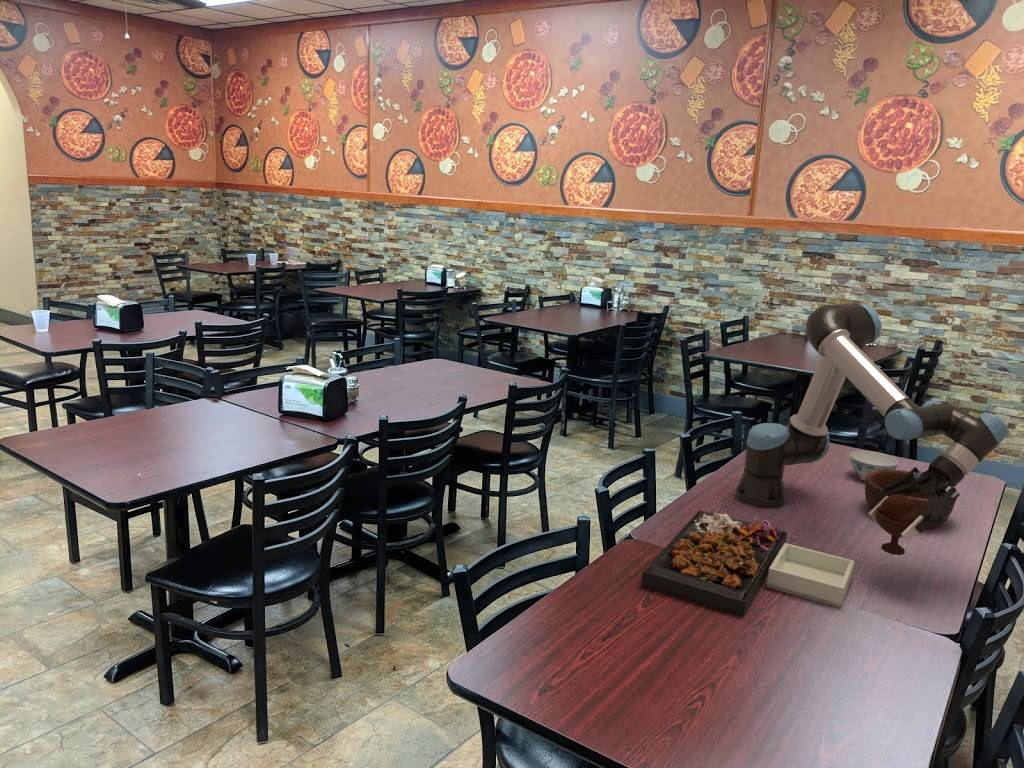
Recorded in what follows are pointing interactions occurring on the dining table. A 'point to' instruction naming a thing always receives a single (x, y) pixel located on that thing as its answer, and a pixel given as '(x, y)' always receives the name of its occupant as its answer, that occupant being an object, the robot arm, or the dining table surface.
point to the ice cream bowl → (895, 520)
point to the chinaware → (871, 462)
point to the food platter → (716, 562)
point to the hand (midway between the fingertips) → (887, 527)
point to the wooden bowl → (885, 477)
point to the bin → (811, 574)
